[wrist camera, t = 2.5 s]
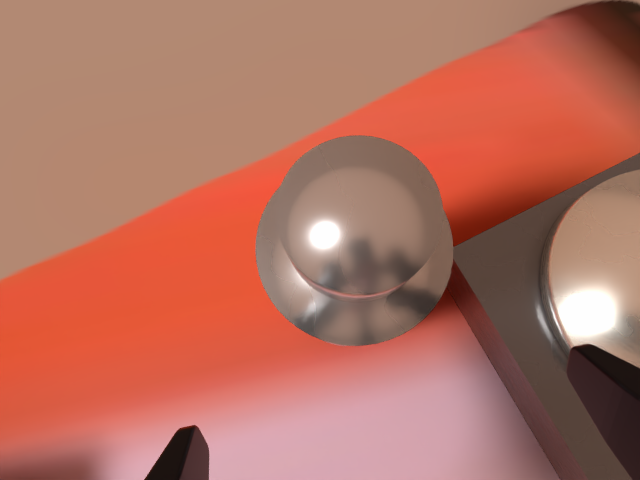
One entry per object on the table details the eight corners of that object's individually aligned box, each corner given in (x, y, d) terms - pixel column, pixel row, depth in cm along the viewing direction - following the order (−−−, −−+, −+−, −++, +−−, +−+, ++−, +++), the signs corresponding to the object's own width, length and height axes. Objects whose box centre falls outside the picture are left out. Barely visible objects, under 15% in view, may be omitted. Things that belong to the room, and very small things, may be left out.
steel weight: (410, 318, 20) (546, 266, 7) (323, 363, 20) (296, 397, 7) (364, 236, 21) (407, 61, 8) (282, 276, 21) (191, 159, 8)
